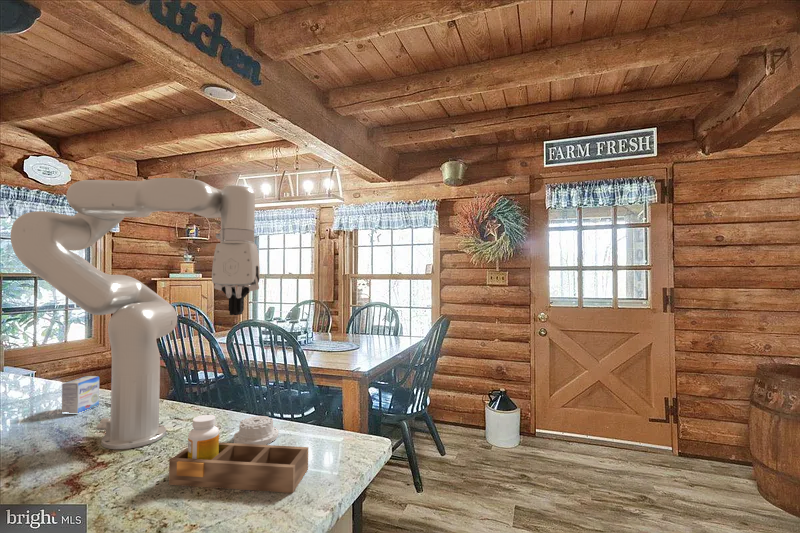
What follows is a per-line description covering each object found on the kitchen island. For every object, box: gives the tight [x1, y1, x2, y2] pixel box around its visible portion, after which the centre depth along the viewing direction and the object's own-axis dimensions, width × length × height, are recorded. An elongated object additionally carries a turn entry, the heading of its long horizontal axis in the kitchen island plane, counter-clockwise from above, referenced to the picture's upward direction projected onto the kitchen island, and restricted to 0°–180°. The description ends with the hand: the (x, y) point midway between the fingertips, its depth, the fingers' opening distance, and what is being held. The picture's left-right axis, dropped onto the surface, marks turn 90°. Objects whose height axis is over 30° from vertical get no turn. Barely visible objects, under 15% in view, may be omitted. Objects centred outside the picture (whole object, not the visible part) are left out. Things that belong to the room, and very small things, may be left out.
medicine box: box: [61, 375, 100, 413], centre depth 113 cm, size 8×4×9 cm, turn 179°
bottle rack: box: [168, 441, 309, 494], centre depth 77 cm, size 24×9×4 cm, turn 85°
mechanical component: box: [233, 415, 279, 445], centre depth 96 cm, size 10×4×10 cm
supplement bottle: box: [187, 414, 220, 460], centre depth 78 cm, size 5×5×10 cm
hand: (236, 314), depth 97 cm, fingers closed
